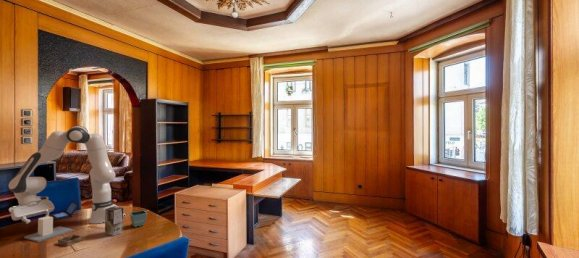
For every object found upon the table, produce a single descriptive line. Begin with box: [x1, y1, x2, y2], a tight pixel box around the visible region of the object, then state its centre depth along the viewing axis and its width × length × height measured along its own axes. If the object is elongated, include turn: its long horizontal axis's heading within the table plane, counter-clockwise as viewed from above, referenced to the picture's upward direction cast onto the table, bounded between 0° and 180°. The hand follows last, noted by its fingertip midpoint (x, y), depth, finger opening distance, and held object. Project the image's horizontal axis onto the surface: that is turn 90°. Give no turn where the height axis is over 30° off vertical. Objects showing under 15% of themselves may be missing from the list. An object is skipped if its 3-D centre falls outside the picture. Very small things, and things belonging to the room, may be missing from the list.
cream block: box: [37, 215, 54, 236], centre depth 160 cm, size 5×5×10 cm
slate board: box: [24, 225, 74, 243], centre depth 162 cm, size 18×14×1 cm
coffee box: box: [104, 206, 124, 237], centre depth 166 cm, size 9×6×16 cm
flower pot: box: [129, 209, 148, 228], centre depth 179 cm, size 9×9×9 cm
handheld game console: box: [50, 200, 79, 221], centre depth 195 cm, size 16×13×9 cm
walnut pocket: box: [57, 233, 84, 247], centre depth 152 cm, size 8×8×2 cm
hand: (38, 220), depth 162 cm, fingers open, 8 cm apart
